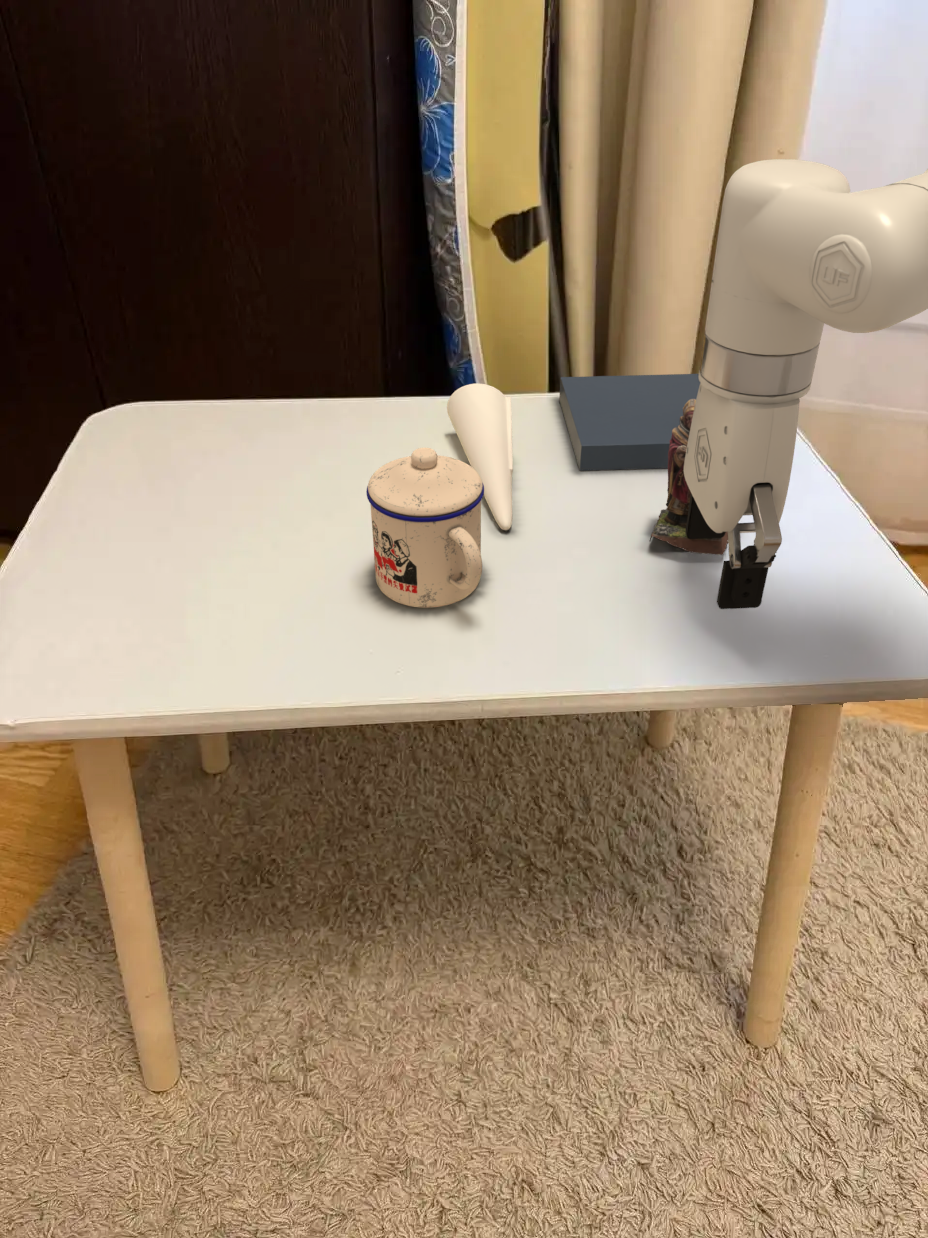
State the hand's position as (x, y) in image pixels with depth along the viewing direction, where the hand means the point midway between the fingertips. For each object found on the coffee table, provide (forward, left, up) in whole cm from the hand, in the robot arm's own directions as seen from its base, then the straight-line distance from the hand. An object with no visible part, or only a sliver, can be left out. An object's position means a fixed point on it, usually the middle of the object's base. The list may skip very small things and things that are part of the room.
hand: (720, 569), depth 78 cm
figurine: (+3, -7, -2) cm, 8 cm away
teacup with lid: (+21, +7, -3) cm, 23 cm away
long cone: (+24, -11, -3) cm, 27 cm away
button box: (+12, -27, -3) cm, 30 cm away
